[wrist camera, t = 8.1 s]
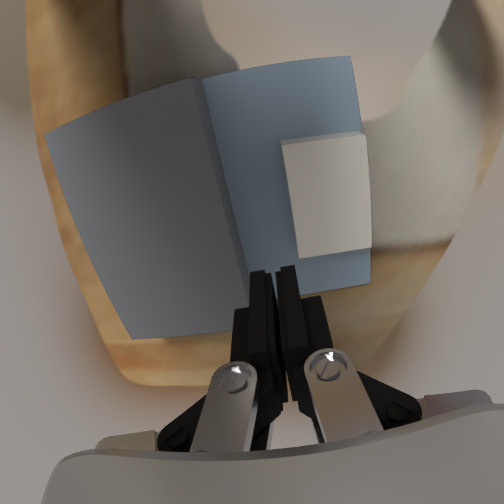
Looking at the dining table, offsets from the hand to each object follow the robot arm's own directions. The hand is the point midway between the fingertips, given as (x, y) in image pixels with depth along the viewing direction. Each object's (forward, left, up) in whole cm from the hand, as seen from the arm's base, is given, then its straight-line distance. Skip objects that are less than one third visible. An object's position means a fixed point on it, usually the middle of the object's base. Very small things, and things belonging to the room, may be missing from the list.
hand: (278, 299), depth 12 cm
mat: (+1, +2, -14) cm, 14 cm away
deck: (+1, -9, -14) cm, 17 cm away
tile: (+1, +4, -12) cm, 13 cm away
